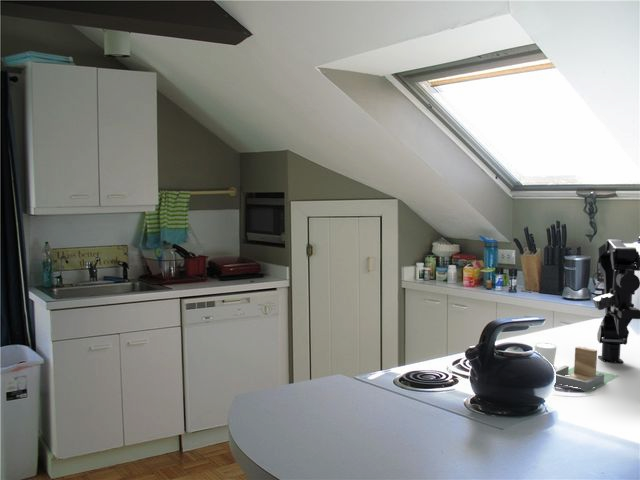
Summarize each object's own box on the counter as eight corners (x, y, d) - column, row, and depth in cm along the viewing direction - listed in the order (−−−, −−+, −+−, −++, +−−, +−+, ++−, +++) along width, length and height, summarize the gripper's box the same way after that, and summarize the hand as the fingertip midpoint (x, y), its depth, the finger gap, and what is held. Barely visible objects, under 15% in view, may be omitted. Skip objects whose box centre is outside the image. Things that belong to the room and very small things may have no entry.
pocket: (564, 373, 218) (564, 365, 218) (603, 382, 209) (604, 374, 209) (547, 381, 210) (547, 373, 209) (587, 391, 201) (587, 382, 201)
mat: (575, 367, 226) (575, 366, 226) (619, 376, 216) (619, 375, 216) (544, 382, 210) (544, 381, 210) (589, 393, 200) (589, 392, 200)
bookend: (576, 374, 217) (578, 346, 216) (595, 378, 213) (597, 350, 212) (560, 382, 209) (562, 353, 208) (580, 386, 205) (581, 357, 204)
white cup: (552, 363, 230) (553, 342, 229) (557, 369, 223) (558, 348, 222) (531, 362, 230) (532, 342, 230) (536, 368, 224) (537, 347, 223)
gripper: (587, 281, 228) (585, 327, 230) (606, 291, 209) (603, 341, 211) (622, 281, 227) (619, 328, 229) (644, 292, 208) (641, 342, 210)
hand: (619, 335), depth 220 cm, fingers closed
